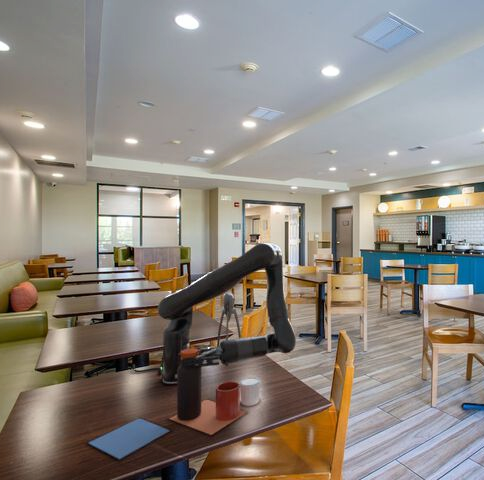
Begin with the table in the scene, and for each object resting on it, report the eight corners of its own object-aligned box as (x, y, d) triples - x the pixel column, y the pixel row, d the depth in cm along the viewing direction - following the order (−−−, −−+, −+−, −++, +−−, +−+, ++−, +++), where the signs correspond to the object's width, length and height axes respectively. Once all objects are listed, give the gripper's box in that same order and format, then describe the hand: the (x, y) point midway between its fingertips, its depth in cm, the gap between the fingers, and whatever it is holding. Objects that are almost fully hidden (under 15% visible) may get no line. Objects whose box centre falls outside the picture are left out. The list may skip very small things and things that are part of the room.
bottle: (206, 413, 108) (206, 349, 108) (187, 423, 102) (187, 356, 102) (191, 407, 111) (191, 346, 111) (172, 417, 105) (172, 352, 105)
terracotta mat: (168, 419, 105) (168, 418, 105) (206, 400, 117) (206, 399, 117) (211, 435, 97) (211, 434, 97) (246, 413, 109) (246, 412, 109)
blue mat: (88, 443, 92) (88, 442, 92) (139, 419, 105) (139, 418, 105) (119, 459, 86) (119, 458, 86) (170, 431, 98) (170, 430, 98)
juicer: (242, 356, 159) (242, 291, 158) (226, 365, 148) (227, 295, 148) (224, 354, 162) (225, 290, 162) (208, 362, 152) (208, 294, 151)
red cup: (210, 417, 106) (210, 388, 106) (227, 407, 112) (228, 379, 112) (227, 423, 103) (227, 393, 102) (244, 412, 109) (244, 384, 109)
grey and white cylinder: (254, 408, 112) (255, 386, 112) (235, 405, 114) (235, 384, 113) (263, 398, 119) (264, 378, 119) (245, 396, 120) (245, 376, 120)
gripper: (230, 333, 120) (176, 341, 111) (242, 345, 108) (183, 355, 99) (230, 354, 120) (176, 364, 111) (242, 368, 108) (183, 381, 99)
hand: (180, 360), depth 105 cm, fingers closed on bottle, 5 cm apart
